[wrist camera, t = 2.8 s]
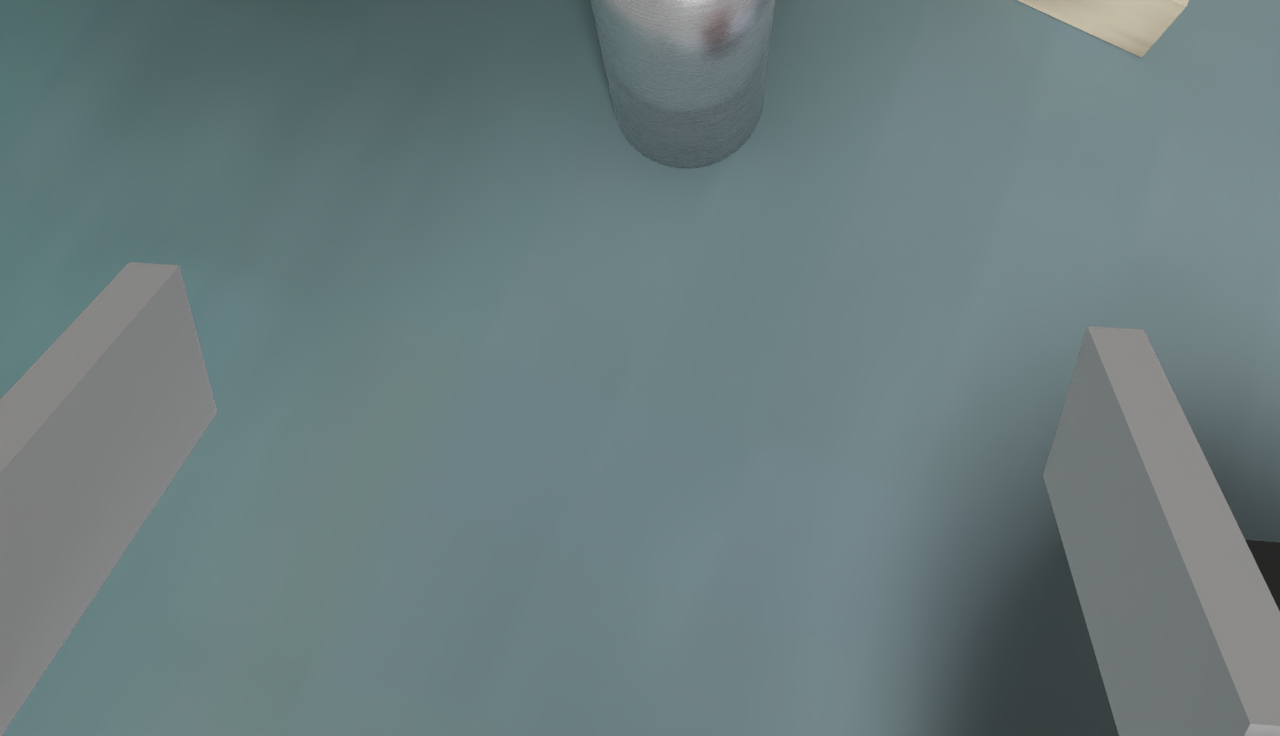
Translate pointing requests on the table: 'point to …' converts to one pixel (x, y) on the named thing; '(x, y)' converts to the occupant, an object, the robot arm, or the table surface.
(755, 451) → the table surface
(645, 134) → the metal cylinder
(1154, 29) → the block
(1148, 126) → the table surface
